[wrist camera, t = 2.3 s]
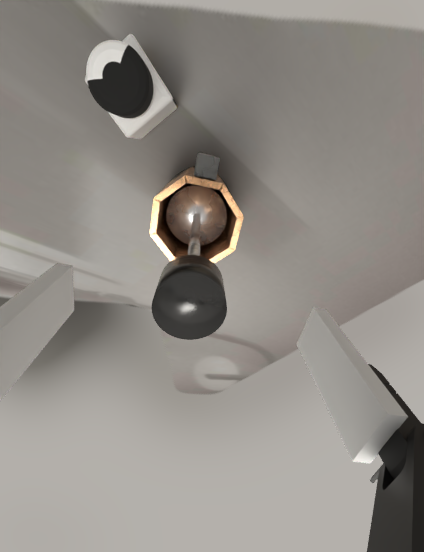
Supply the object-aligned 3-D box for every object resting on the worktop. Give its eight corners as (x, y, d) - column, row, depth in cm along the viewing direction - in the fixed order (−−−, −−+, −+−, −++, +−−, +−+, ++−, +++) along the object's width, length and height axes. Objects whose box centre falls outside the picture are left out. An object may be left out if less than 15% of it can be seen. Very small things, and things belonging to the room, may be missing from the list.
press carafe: (161, 227, 43) (145, 259, 31) (172, 145, 38) (157, 143, 25) (222, 239, 45) (230, 274, 32) (240, 161, 39) (258, 167, 27)
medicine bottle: (178, 107, 36) (168, 89, 25) (139, 140, 38) (114, 137, 27) (144, 53, 33) (116, 7, 22) (104, 91, 35) (60, 65, 24)
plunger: (163, 238, 35) (113, 354, 15) (171, 178, 31) (121, 228, 12) (219, 248, 35) (240, 370, 16) (232, 191, 32) (279, 258, 13)
